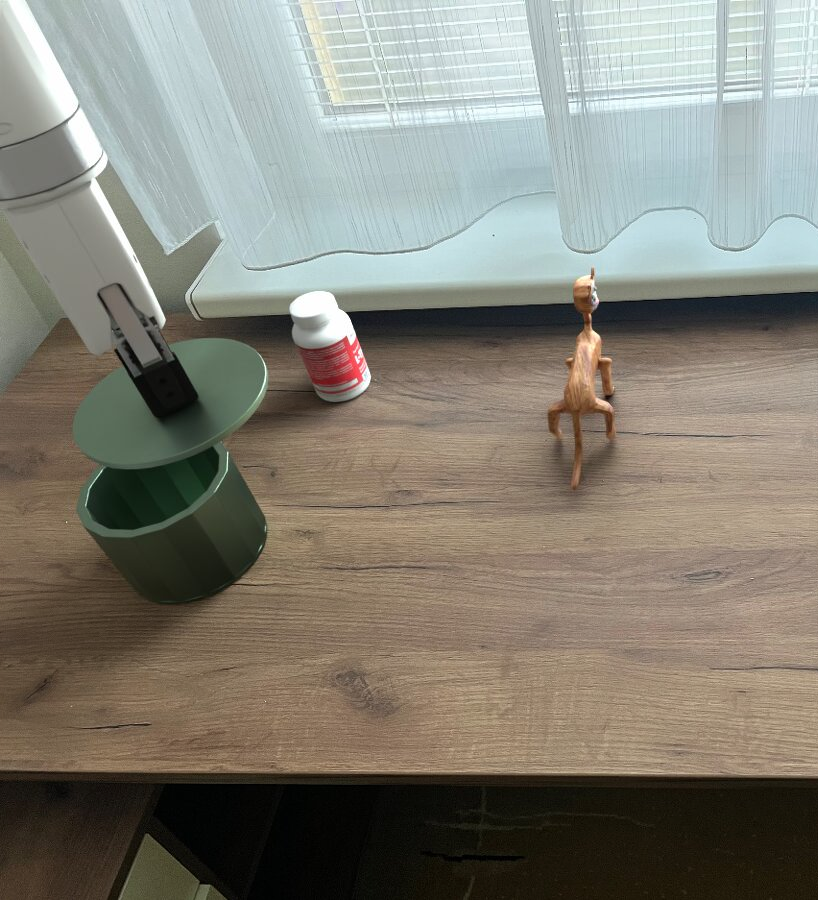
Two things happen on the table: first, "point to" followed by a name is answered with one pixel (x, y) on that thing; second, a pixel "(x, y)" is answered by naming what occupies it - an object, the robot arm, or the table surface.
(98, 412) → the tin lid
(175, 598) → the tin
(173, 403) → the robot arm
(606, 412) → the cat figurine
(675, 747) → the table surface
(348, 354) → the pill bottle
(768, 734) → the table surface
